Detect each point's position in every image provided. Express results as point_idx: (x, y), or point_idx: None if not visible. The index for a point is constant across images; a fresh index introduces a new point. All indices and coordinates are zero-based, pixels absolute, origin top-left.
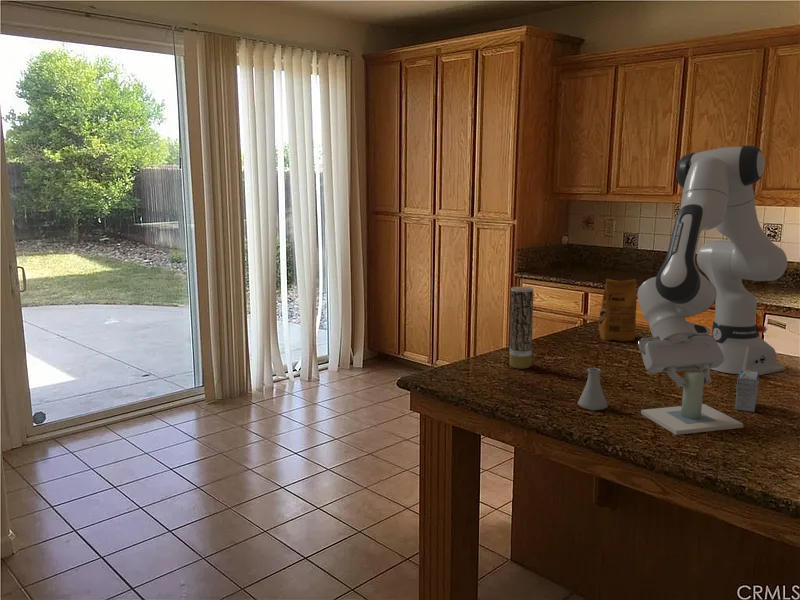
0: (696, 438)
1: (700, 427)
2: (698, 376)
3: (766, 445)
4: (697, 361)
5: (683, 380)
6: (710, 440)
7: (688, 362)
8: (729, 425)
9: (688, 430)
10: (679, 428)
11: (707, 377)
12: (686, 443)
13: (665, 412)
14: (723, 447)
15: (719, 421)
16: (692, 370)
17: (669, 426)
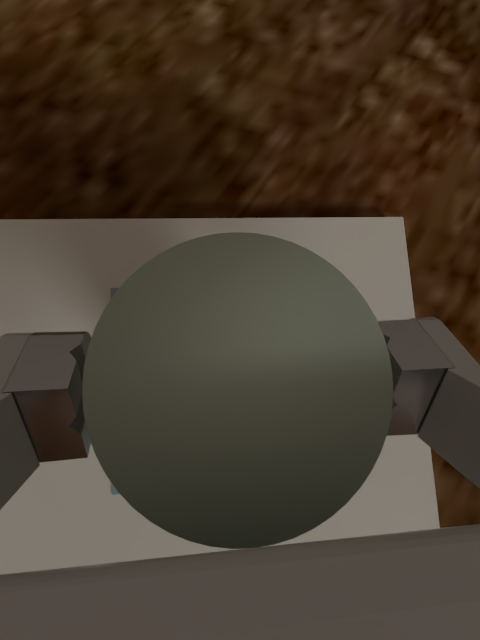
0: (321, 169)
1: (259, 225)
2: (267, 240)
3: (55, 26)
4: (41, 622)
5: (409, 339)
6: (272, 135)
7: (348, 584)
8: (80, 219)
9: (332, 220)
10: (371, 239)
11: (32, 361)
12: (395, 134)
13: None
14: (263, 60)
15: (98, 276)
16: (194, 520)
17: (407, 273)
